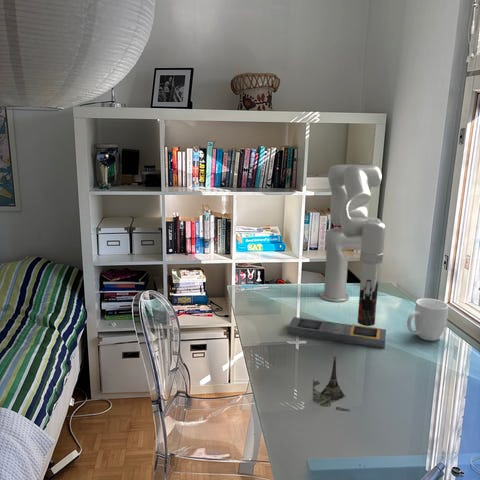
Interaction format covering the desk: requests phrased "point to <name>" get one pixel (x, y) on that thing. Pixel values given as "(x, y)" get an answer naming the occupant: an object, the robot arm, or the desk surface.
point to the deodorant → (363, 315)
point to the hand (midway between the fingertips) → (367, 306)
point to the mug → (429, 318)
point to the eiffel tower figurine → (329, 391)
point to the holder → (338, 332)
